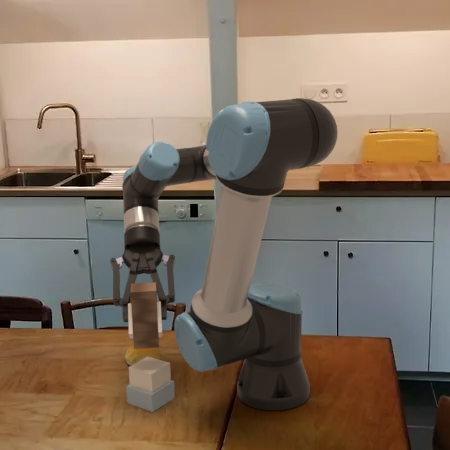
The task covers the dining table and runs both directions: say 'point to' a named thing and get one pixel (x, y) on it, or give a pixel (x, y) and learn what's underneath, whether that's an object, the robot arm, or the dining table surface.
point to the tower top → (149, 374)
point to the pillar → (144, 315)
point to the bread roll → (141, 354)
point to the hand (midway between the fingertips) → (145, 335)
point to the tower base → (150, 396)
